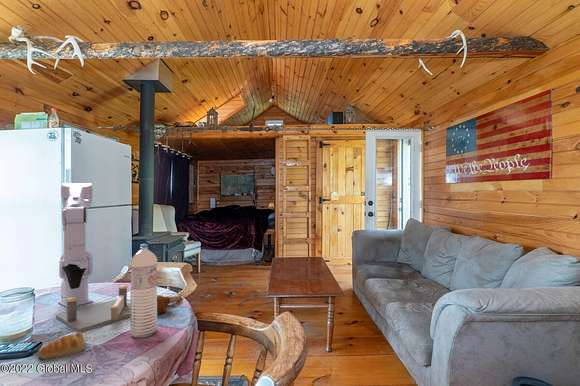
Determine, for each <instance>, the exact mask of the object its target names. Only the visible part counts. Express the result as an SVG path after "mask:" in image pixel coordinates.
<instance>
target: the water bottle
mask: <svg viewBox="0 0 580 386" xmlns="http://www.w3.org/2000/svg"><path fill="white" fill-rule="evenodd" d="M148 247H149V245H148V244H147V243H142V244H140V249H139V250H138V251H137V252H135V254H134V255H133V256H132V258H130V290H129V291H130V295H129V296H130V302H129V303H130V304H131V306H130V307H131V309H130V311H131V312H130V314H131V316H130V317H129V318H130V319H129V321H130V336H131V337H132V338H136V339H144V338H148V337H151V336H153V335H154V334H156V332H157V328H158V314H157V295H158V285H157V284H158V282H157V281H158V280H157V279H158V276H157V275H158V271H157V268H158V267H157V266H158V258H157V256H156V255H155V253H154V252H152V251H151V250H149V249H148Z"/></svg>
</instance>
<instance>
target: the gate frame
mask: <svg viewBox="0 0 580 386" xmlns="http://www.w3.org/2000/svg"><path fill="white" fill-rule="evenodd" d="M117 288H118V298H119V296H120V295H124V307H123V308H122V310H121V312H120V314H119V318H118V319H116V320H111V307H112V306H114V304H115V302H116V301H117V299H118V298H114V299H110V300H106V301H103V302H99V303H95V304H92V305H91V304H90V305H87V306H83V307H80V308H77V307H78V306H77V300H78V298H77V297H71V298H67V299H66V302H67V307H66V311H64V312H61V313H57V314H55V319H57V320H59V321H60V322H61V323H63V324H65V325H67V326H68V327H70V328H71V329H73V330H74V331H76V332H77V333H78V332H80V333H83V332H86V331H89V330H90V331H91V330H92V329H95V328H98V327H102V326H106V325H107V324H112V323H115V322H117V321H121V320H123V319H127V318H131V317H130V316H131V314H130V312H131V311H130V309H131V307H130V306H131V304H130V303H131V302H128V298H127V297H128V285H124V284H123V285H119V286H118V287H117Z"/></svg>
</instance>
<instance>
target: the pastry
mask: <svg viewBox="0 0 580 386" xmlns="http://www.w3.org/2000/svg"><path fill="white" fill-rule="evenodd" d="M85 348H86V342H85V339H84V334H83V332H78V331H77V333H74V334H68V335H63V336H61V337H60V338H58V339H56V340H54V341H51V342H49V343H48V344H45V345H44V346H42V347H41V348H40V349H39V351H38V353H37V357H38V358H40V359H43V360H48V359H54V358H62V357H65V356H70V355H74V354H78V353H80V352H83V351H84V350H85Z"/></svg>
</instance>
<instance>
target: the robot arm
mask: <svg viewBox="0 0 580 386" xmlns="http://www.w3.org/2000/svg"><path fill="white" fill-rule="evenodd" d="M60 198H61V204H62V207H64V208H63V209H62V210H61V222H62V223H61V224H62V231H63V254H62V255H61V256H60V259H59V260H58V263H59V268H58V270H59V271H58V273H59V274H58V276H59V278H60V279H62V282H61V284H60V300H58V301H57V303H59V304H60V305H62V306H64V307H66V308H67V302H66V299H67V298H71V297H77V298H78V300H77V307H78V306H80V305H85V304H89V303H92V302H94V299H91V298H89V278H90V277H89V276H92V275H93V272H94V271H93V254H92V252H89V251H88V250H86V248H87V247H86V244H87V243H86V239H87V238H86V237H87V236H86V232H87V231H86V230H87V229H86V227H87V226H86V225H87V223H88V208H91V207H92V204H93V183H92V182H91V183H89V182H88V183H80V182H78V183H73V182H72V183H68V182H63V183H61V185H60Z"/></svg>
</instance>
